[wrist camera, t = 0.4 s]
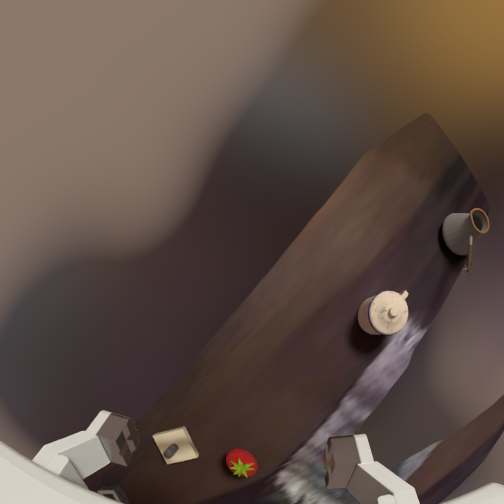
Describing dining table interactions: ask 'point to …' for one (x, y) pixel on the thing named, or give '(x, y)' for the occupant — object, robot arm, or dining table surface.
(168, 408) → the dining table surface
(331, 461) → the robot arm
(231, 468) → the strawberry
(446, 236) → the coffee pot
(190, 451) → the block
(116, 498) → the end link
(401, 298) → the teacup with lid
